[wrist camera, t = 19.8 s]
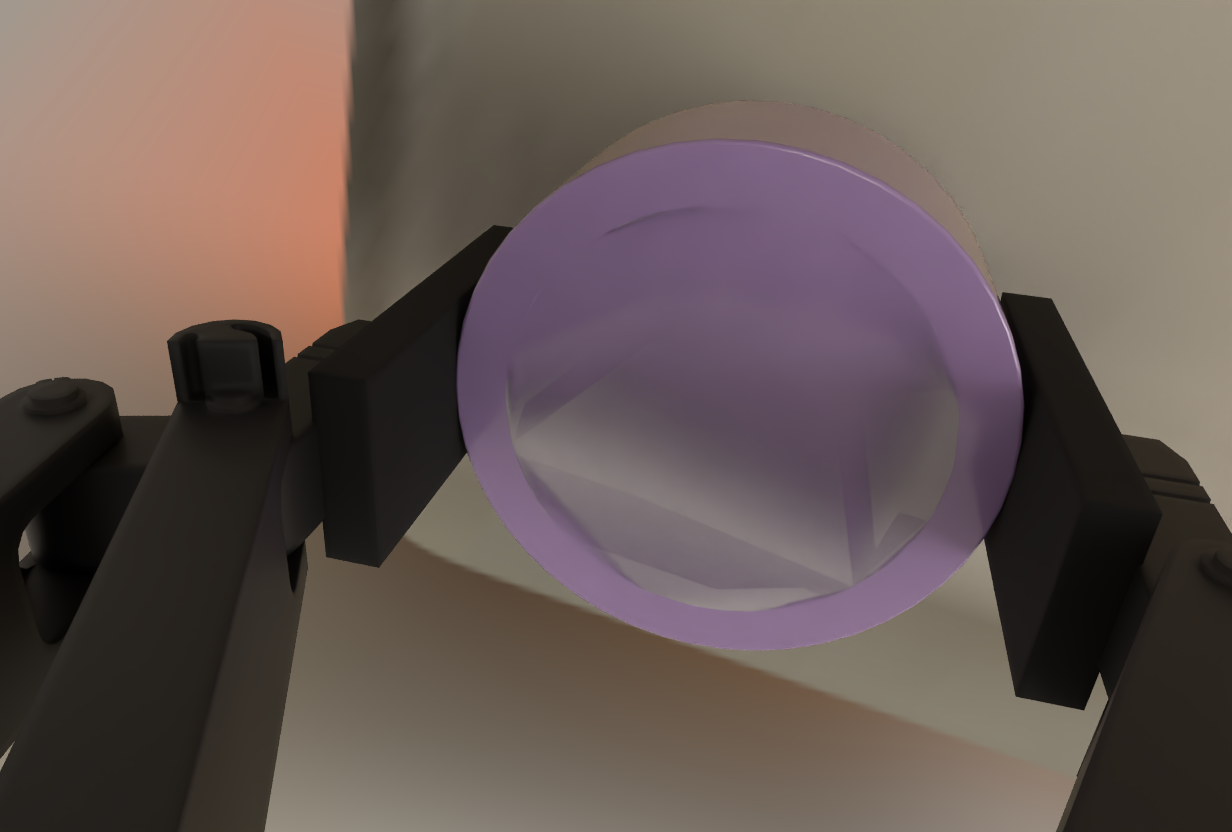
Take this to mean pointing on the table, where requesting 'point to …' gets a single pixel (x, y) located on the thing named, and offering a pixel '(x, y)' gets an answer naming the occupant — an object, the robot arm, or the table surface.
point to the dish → (743, 380)
